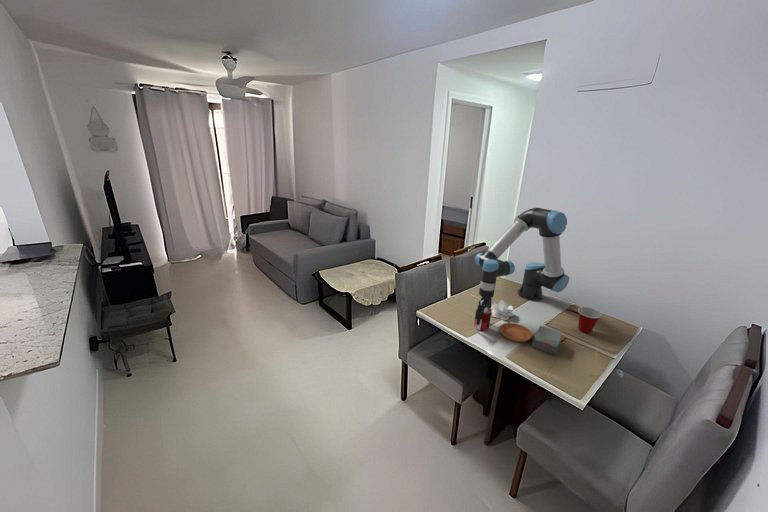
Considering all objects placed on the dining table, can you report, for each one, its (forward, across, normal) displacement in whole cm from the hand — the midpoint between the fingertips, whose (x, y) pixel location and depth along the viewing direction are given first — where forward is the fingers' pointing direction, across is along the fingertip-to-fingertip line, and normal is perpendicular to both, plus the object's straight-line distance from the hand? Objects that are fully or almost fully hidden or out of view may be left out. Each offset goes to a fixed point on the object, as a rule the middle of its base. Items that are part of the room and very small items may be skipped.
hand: (481, 324), depth 167 cm
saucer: (+2, -3, +17) cm, 17 cm away
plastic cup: (+1, -33, +46) cm, 57 cm away
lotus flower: (+1, -21, +4) cm, 21 cm away
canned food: (+1, 0, 0) cm, 1 cm away
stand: (+1, -4, +32) cm, 32 cm away
